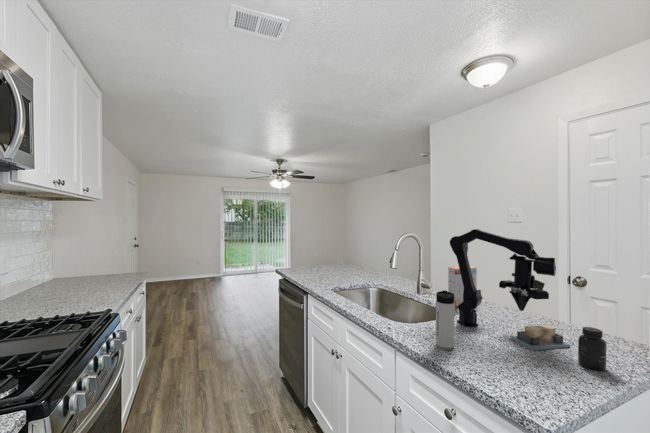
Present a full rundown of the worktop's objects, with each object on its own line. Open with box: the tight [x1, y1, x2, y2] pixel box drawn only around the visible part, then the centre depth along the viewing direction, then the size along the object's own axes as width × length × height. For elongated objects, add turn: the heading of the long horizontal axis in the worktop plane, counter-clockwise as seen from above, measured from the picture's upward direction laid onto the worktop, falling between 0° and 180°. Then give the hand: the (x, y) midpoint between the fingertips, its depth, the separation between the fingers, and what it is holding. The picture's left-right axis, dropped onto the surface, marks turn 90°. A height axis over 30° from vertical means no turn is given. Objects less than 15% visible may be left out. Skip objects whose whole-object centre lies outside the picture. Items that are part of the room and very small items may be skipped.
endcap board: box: [510, 330, 571, 351], centre depth 114 cm, size 16×10×4 cm, turn 101°
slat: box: [524, 324, 556, 343], centre depth 114 cm, size 10×4×5 cm, turn 100°
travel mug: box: [435, 290, 455, 351], centre depth 110 cm, size 6×7×20 cm
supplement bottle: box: [577, 326, 608, 372], centre depth 97 cm, size 7×7×12 cm
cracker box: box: [447, 265, 478, 309], centre depth 162 cm, size 14×6×21 cm, turn 106°
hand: (521, 310), depth 121 cm, fingers closed
